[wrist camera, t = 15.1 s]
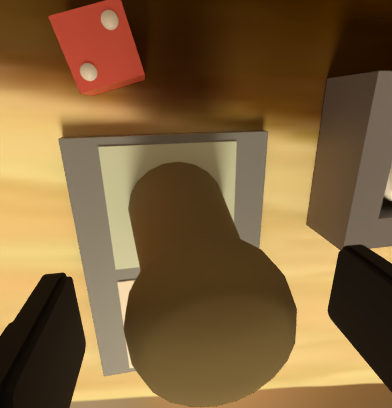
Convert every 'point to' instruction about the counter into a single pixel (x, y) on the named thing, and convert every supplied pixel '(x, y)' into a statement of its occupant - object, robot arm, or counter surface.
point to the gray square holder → (354, 162)
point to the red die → (98, 46)
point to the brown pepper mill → (201, 294)
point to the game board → (119, 215)
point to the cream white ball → (389, 187)
